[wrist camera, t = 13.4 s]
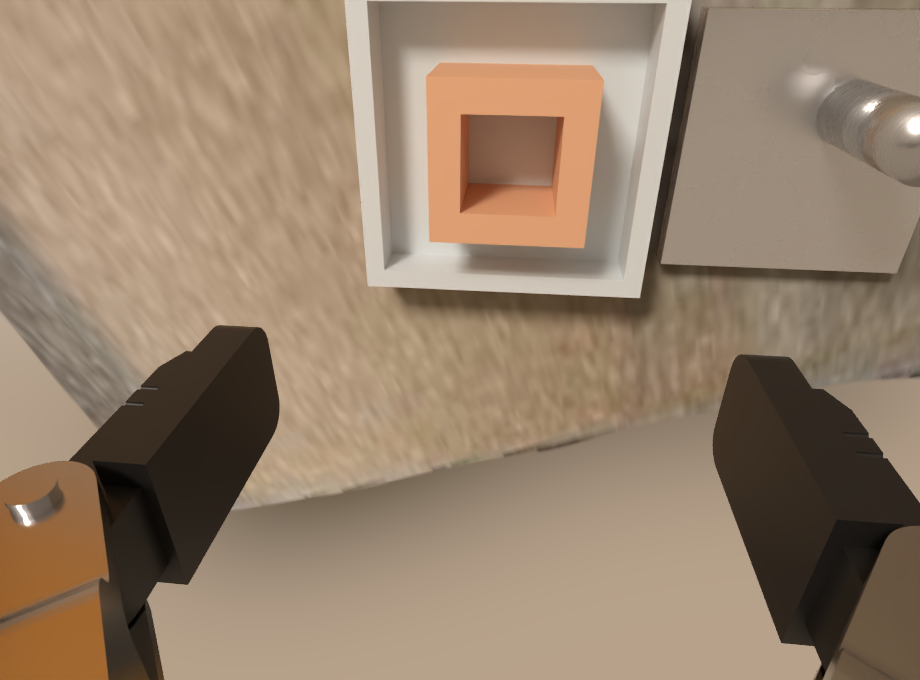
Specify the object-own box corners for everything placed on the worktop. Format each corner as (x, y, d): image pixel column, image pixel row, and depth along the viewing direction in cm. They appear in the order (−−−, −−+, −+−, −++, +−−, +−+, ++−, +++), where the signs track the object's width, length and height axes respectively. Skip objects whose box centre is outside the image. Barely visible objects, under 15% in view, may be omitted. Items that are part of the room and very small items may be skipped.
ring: (592, 65, 24) (604, 79, 20) (576, 213, 27) (584, 248, 23) (440, 62, 24) (425, 76, 21) (441, 208, 27) (429, 241, 24)
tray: (679, -25, 22) (695, -24, 20) (631, 274, 29) (639, 298, 26) (359, -26, 23) (342, -26, 21) (379, 263, 29) (367, 285, 27)
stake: (984, 9, 22) (1140, 20, 16) (884, 263, 27) (976, 337, 22) (702, 7, 23) (758, 17, 17) (656, 255, 28) (689, 324, 22)
